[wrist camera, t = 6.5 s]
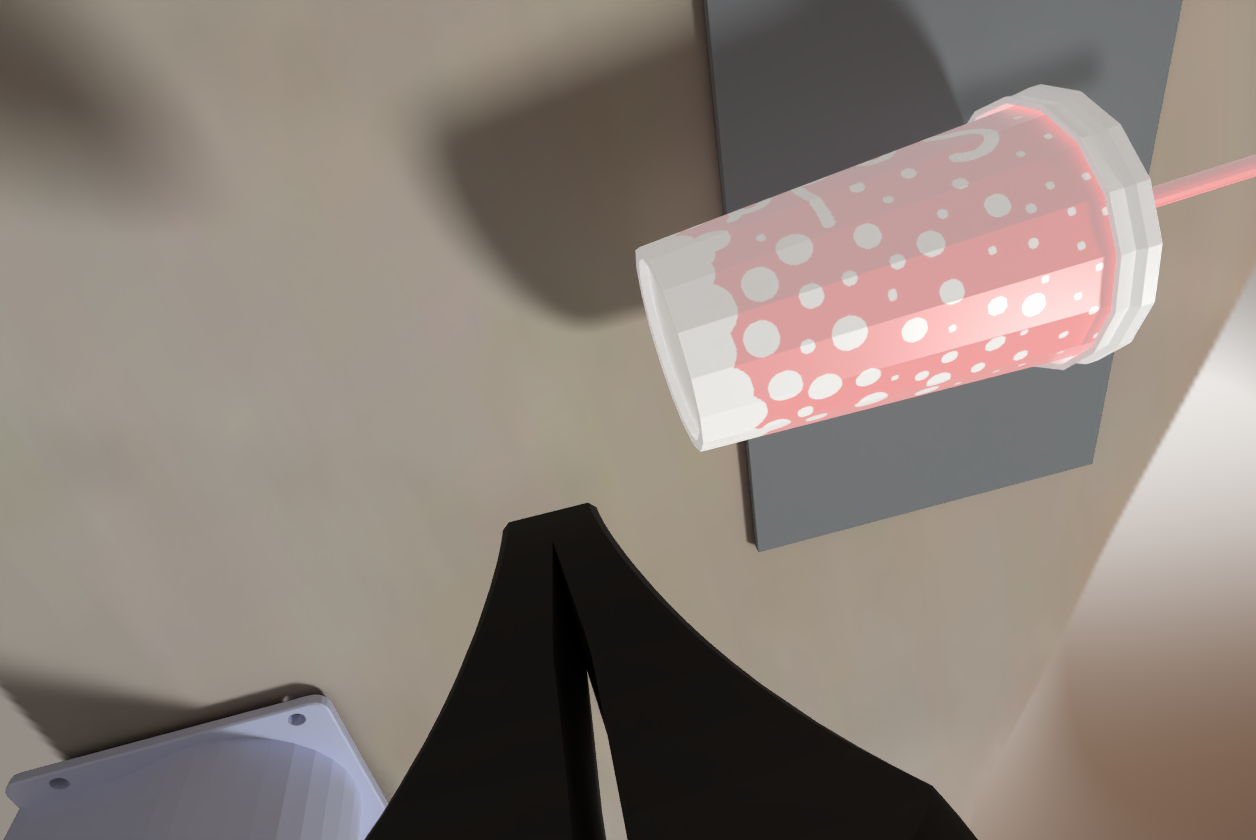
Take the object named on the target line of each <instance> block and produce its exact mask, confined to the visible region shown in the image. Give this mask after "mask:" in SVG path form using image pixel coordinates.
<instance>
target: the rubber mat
mask: <svg viewBox="0 0 1256 840" xmlns="http://www.w3.org/2000/svg"><path fill="white" fill-rule="evenodd" d="M703 2H704V13H705V23H706V34H707V44H708V55H709V65H710V75H711V86H712V96H713V107H714V117H715V128H716V138H717V149H718V159H719V170H720V180H721V191H722V201H723V212H724V215H726V214H729V213H731V212H734V211H737V210H739V209H742V208H745V207H747V206H750V205H752V204H755V203H758V202H760V201H763V200H766V199H768V198H771V197H774V196H776V195H779V194H782V193H784V192H787V191H790V190H792V189H795V188H798V187H800V186H803V185H806V184H808V183H811V182H813V181H816V180H819V179H821V178H824V177H827V176H829V175H832V174H835V173H837V172H840V171H843V170H845V169H848V168H851V167H853V166H856V165H859V164H861V163H864V162H866V161H869V160H872V159H874V158H877V157H880V156H882V155H885V154H888V153H890V152H893V151H896V150H898V149H901V148H904V147H906V146H909V145H912V144H914V143H917V142H920V141H922V140H925V139H927V138H930V137H933V136H935V135H938V134H941V133H943V132H946V131H949V130H951V129H954V128H957V127H959V126H962V125H965V124H967V123H968V121H969V120H970V118H971V117H972V115H973V114H974V112H975V111H977V110H979V109H981V108H983V107H985V106H987V105H989V104H991V103H993V102H995V101H997V100H999V99H1001V98H1003V97H1006V96H1013V95H1015V94H1017V93H1019V92H1021V91H1023V90H1025V89H1027V88H1030V87H1033V86H1036V85H1040V84H1043V85H1048V86H1054V87H1060V88H1066V89H1071V90H1077V91H1081V92H1082V93H1084V94H1085V95H1086V96H1087V97H1088V98H1090V99H1091V100H1092V101H1093V102H1094V103H1096V104H1097V105H1098V106H1099V107H1101V108H1102V109H1103V110H1104V111H1105V112H1107V113H1108V114H1109V115H1110V116H1111V117H1113V118H1114V119H1115V120H1116V121H1117V122H1119V123H1120V124H1121V126H1122V128H1123V130H1124V131H1125V133H1126V135H1127V137H1128V139H1129V141H1130V142H1131V144H1132V146H1133V148H1134V150H1135V152H1136V153H1137V155H1138V157H1139V159H1140V161H1141V163H1142V164H1143V166H1144V168H1145V170H1146V172H1147V174H1148V175H1149V170H1150V165H1151V159H1152V154H1153V149H1154V144H1155V139H1156V134H1157V129H1158V124H1159V118H1160V113H1161V108H1162V103H1163V98H1164V93H1165V88H1166V82H1167V77H1168V72H1169V67H1170V62H1171V57H1172V52H1173V46H1174V41H1175V36H1176V31H1177V26H1178V21H1179V16H1180V11H1181V5H1182V0H703ZM1113 355H1114V352H1112V353H1111V354H1109V355H1107V356H1105V357H1103V358H1102V359H1100V360H1098V361H1095V362H1092V363H1089V364H1077V363H1075V364H1074V365H1072V366H1070V367H1068V368H1067V369H1065V370H1059V369H1050V368H1041V367H1030V368H1026V369H1022V370H1018V371H1014V372H1010V373H1006V374H1002V375H998V376H994V377H991V378H987V379H983V380H979V381H975V382H971V383H967V384H963V385H959V386H955V387H952V388H948V389H944V390H940V391H936V392H932V393H928V394H924V395H920V396H916V397H912V398H909V399H905V400H901V401H897V402H893V403H889V404H885V405H881V406H877V407H873V408H870V409H866V410H862V411H858V412H854V413H850V414H846V415H842V416H838V417H834V418H830V419H827V420H823V421H819V422H815V423H811V424H807V425H803V426H799V427H795V428H791V429H788V430H784V431H780V432H776V433H772V434H768V435H764V436H760V437H756V438H752V439H748V440H745V442H746V452H747V463H748V473H749V484H750V494H751V505H752V515H753V526H754V536H755V546H756V548H757V550H758V552H761V551H765V550H769V549H773V548H776V547H780V546H784V545H788V544H791V543H795V542H799V541H803V540H807V539H810V538H814V537H818V536H822V535H825V534H829V533H833V532H837V531H840V530H844V529H848V528H852V527H856V526H859V525H863V524H867V523H871V522H874V521H878V520H882V519H886V518H889V517H893V516H897V515H901V514H905V513H908V512H912V511H916V510H920V509H923V508H927V507H931V506H935V505H938V504H942V503H946V502H950V501H953V500H957V499H961V498H965V497H969V496H972V495H976V494H980V493H984V492H987V491H991V490H995V489H999V488H1002V487H1006V486H1010V485H1014V484H1018V483H1021V482H1025V481H1029V480H1033V479H1036V478H1040V477H1044V476H1048V475H1051V474H1055V473H1059V472H1063V471H1067V470H1070V469H1074V468H1078V467H1082V466H1085V465H1089V464H1092V462H1093V457H1094V452H1095V447H1096V442H1097V437H1098V432H1099V427H1100V421H1101V416H1102V411H1103V406H1104V401H1105V396H1106V391H1107V385H1108V380H1109V375H1110V370H1111V365H1112V360H1113Z"/></svg>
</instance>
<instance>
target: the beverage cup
mask: <svg viewBox="0 0 1256 840" xmlns="http://www.w3.org/2000/svg"><path fill="white" fill-rule="evenodd" d="M1255 176H1256V154H1255V155H1252V156H1249V157H1245V158H1242V159H1239V160H1236V161H1233V162H1229V163H1226V164H1223V165H1220V166H1217V167H1214V168H1210V169H1207V170H1204V171H1201V172H1198V173H1195V174H1191V175H1188V176H1185V177H1182V178H1179V179H1175V180H1172V181H1169V182H1166V183H1163V184H1160V185H1156V186H1153V187H1152V184H1151V179H1150V177H1149V175H1148V174H1147V172H1146V170H1145V168H1144V166H1143V164H1142V163H1141V161H1140V159H1139V157H1138V155H1137V153H1136V152H1135V150H1134V148H1133V146H1132V144H1131V142H1130V141H1129V139H1128V137H1127V135H1126V133H1125V131H1124V130H1123V128H1122V126H1121V124H1120V123H1119V122H1117V121H1116V120H1115V119H1114V118H1113V117H1111V116H1110V115H1109V114H1108V113H1107V112H1105V111H1104V110H1103V109H1102V108H1101V107H1099V106H1098V105H1097V104H1096V103H1094V102H1093V101H1092V100H1091V99H1090V98H1088V97H1087V96H1086V95H1085V94H1084V93H1082V92H1081V91H1077V90H1071V89H1066V88H1060V87H1054V86H1048V85H1043V84H1040V85H1036V86H1033V87H1030V88H1027V89H1025V90H1023V91H1021V92H1019V93H1017V94H1015V95H1013V96H1006V97H1003V98H1001V99H999V100H997V101H995V102H993V103H991V104H989V105H987V106H985V107H983V108H981V109H979V110H977V111H975V112H974V114H973V115H972V117H971V118H970V120H969V121H968V123H967V124H965V125H962V126H959V127H957V128H954V129H951V130H949V131H946V132H943V133H941V134H938V135H935V136H933V137H930V138H927V139H925V140H922V141H920V142H917V143H914V144H912V145H909V146H906V147H904V148H901V149H898V150H896V151H893V152H890V153H888V154H885V155H882V156H880V157H877V158H874V159H872V160H869V161H866V162H864V163H861V164H859V165H856V166H853V167H851V168H848V169H845V170H843V171H840V172H837V173H835V174H832V175H829V176H827V177H824V178H821V179H819V180H816V181H813V182H811V183H808V184H806V185H803V186H800V187H798V188H795V189H792V190H790V191H787V192H784V193H782V194H779V195H776V196H774V197H771V198H768V199H766V200H763V201H760V202H758V203H755V204H752V205H750V206H747V207H745V208H742V209H739V210H737V211H734V212H731V213H729V214H726V215H723V216H721V217H718V218H715V219H713V220H710V221H707V222H705V223H702V224H699V225H697V226H694V227H692V228H689V229H686V230H684V231H681V232H678V233H676V234H673V235H670V236H668V237H665V238H662V239H660V240H657V241H654V242H652V243H649V244H646V245H644V246H641V247H639V248H638V249H637V250H636V268H637V273H638V279H639V284H640V289H641V295H642V299H643V303H644V307H645V311H646V315H647V318H648V322H649V326H650V330H651V333H652V337H653V340H654V343H655V347H656V350H657V353H658V357H659V360H660V363H661V366H662V369H663V372H664V375H665V378H666V381H667V384H668V386H669V389H670V392H671V395H672V398H673V400H674V403H675V405H676V408H677V410H678V413H679V415H680V418H681V420H682V423H683V425H684V427H685V429H686V431H687V433H688V435H689V437H690V439H691V441H692V443H693V445H694V446H695V447H696V448H697V449H698V450H699V451H700V452H702V451H706V450H709V449H713V448H717V447H721V446H725V445H729V444H733V443H737V442H741V441H745V440H748V439H752V438H756V437H760V436H764V435H768V434H772V433H776V432H780V431H784V430H788V429H791V428H795V427H799V426H803V425H807V424H811V423H815V422H819V421H823V420H827V419H830V418H834V417H838V416H842V415H846V414H850V413H854V412H858V411H862V410H866V409H870V408H873V407H877V406H881V405H885V404H889V403H893V402H897V401H901V400H905V399H909V398H912V397H916V396H920V395H924V394H928V393H932V392H936V391H940V390H944V389H948V388H952V387H955V386H959V385H963V384H967V383H971V382H975V381H979V380H983V379H987V378H991V377H994V376H998V375H1002V374H1006V373H1010V372H1014V371H1018V370H1022V369H1026V368H1030V367H1041V368H1050V369H1059V370H1065V369H1067V368H1068V367H1070V366H1072V365H1074V364H1075V363H1077V364H1089V363H1092V362H1095V361H1098V360H1100V359H1102V358H1103V357H1105V356H1107V355H1109V354H1111V353H1112V352H1114V351H1116V350H1118V349H1120V348H1122V347H1123V346H1125V345H1127V344H1129V343H1131V341H1132V339H1133V338H1134V336H1135V334H1136V333H1137V331H1138V329H1139V328H1140V326H1141V324H1142V323H1143V321H1144V319H1145V318H1146V316H1147V314H1148V312H1149V311H1150V309H1151V307H1152V306H1153V304H1154V302H1155V296H1156V289H1157V281H1158V274H1159V266H1160V259H1161V252H1162V244H1163V243H1162V238H1161V232H1160V227H1159V222H1158V216H1157V211H1156V208H1157V207H1160V206H1163V205H1166V204H1170V203H1173V202H1176V201H1179V200H1182V199H1185V198H1189V197H1192V196H1195V195H1198V194H1201V193H1204V192H1208V191H1211V190H1214V189H1217V188H1220V187H1223V186H1227V185H1230V184H1233V183H1236V182H1239V181H1242V180H1246V179H1249V178H1252V177H1255Z"/></svg>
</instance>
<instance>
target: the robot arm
mask: <svg viewBox="0 0 1256 840" xmlns="http://www.w3.org/2000/svg"><path fill="white" fill-rule="evenodd" d="M587 672H588V675H589V678H590V681H591V684H592V688H593V691H594V694H595V697H596V700H597V703H598V706H599V710H600V713H601V716H602V719H603V722H604V725H605V728H606V732H607V735H608V740H609V745H610V750H611V755H612V760H613V766H614V771H615V776H616V781H617V786H618V792H619V797H620V802H621V807H622V812H623V818H624V823H625V828H626V834H627V839H628V840H978V839H977V838H976V837H975V836H974V834H973V833H972V832H971V831H970V829H969V828H968V827H967V825H966V824H965V823H964V822H963V820H962V819H961V818H960V817H959V815H958V814H957V813H956V812H955V811H954V810H953V809H952V807H951V806H950V805H949V804H948V803H947V802H946V801H945V799H944V798H943V797H942V796H941V795H940V794H939V793H938V792H937V790H936V789H935V788H934V787H933V786H932V785H930V784H928V783H926V782H924V781H922V780H920V779H918V778H916V777H914V776H912V775H910V774H908V773H906V772H904V771H902V770H900V769H898V768H896V767H894V766H892V765H891V764H889V763H887V762H885V761H883V760H881V759H880V758H878V757H876V756H874V755H872V754H870V753H869V752H867V751H865V750H863V749H861V748H859V747H858V746H856V745H854V744H853V743H851V742H849V741H848V740H846V739H844V738H843V737H841V736H839V735H838V734H836V733H834V732H833V731H831V730H829V729H828V728H826V727H824V726H823V725H821V724H819V723H818V722H816V721H815V720H813V719H812V718H810V717H809V716H807V715H806V714H804V713H803V712H801V711H800V710H798V709H797V708H795V707H794V706H792V705H791V704H790V703H788V702H787V701H785V700H784V699H782V698H781V697H779V696H778V695H776V694H775V693H773V692H772V691H770V690H769V689H767V688H766V687H764V686H763V685H762V684H760V683H759V682H758V681H756V680H755V679H754V678H752V677H751V676H750V675H749V674H747V673H746V672H745V671H743V670H742V669H741V668H740V667H738V666H737V665H736V664H734V663H733V662H732V661H731V660H729V659H728V658H727V657H726V656H725V655H724V654H722V653H721V652H720V651H719V650H718V649H716V648H715V647H714V646H713V645H712V644H710V643H709V642H708V641H707V640H706V639H705V638H704V637H703V636H701V635H700V634H699V633H698V632H697V631H696V630H695V629H694V628H693V627H692V626H691V625H690V624H689V623H688V622H686V621H685V620H684V619H683V618H682V617H681V616H680V615H679V614H678V613H677V612H676V611H675V610H674V609H673V608H672V607H671V606H670V605H669V604H668V603H667V602H666V600H665V599H664V598H663V597H662V596H661V595H660V594H659V593H658V592H657V591H656V590H655V589H654V587H653V586H652V585H651V584H650V583H649V582H648V581H647V579H646V578H645V577H644V576H643V575H642V574H641V572H640V571H639V570H638V569H637V568H636V567H635V565H634V564H633V563H632V562H631V560H630V559H629V558H628V557H627V555H626V554H625V553H624V551H623V550H622V549H621V547H620V546H619V545H618V543H617V542H616V541H615V539H614V538H613V536H612V535H611V533H610V532H609V530H608V529H607V527H606V525H605V524H604V522H603V520H602V518H601V516H600V515H599V512H598V510H597V508H596V507H595V506H593V505H591V504H589V503H585V504H581V505H577V506H573V507H569V508H565V509H561V510H557V511H553V512H549V513H545V514H541V515H537V516H533V517H529V518H525V519H521V520H517V521H513V522H509V523H508V524H507V526H506V527H505V528H504V530H503V535H502V542H501V547H500V552H499V556H498V561H497V565H496V569H495V572H494V576H493V579H492V583H491V586H490V590H489V593H488V596H487V599H486V602H485V605H484V608H483V611H482V614H481V617H480V620H479V623H478V626H477V628H476V631H475V634H474V636H473V639H472V641H471V644H470V646H469V649H468V651H467V653H466V656H465V658H464V661H463V663H462V666H461V668H460V671H459V673H458V675H457V678H456V680H455V682H454V684H453V687H452V689H451V691H450V693H449V695H448V697H447V700H446V702H445V704H444V706H443V708H442V710H441V712H440V714H439V716H438V718H437V720H436V722H435V724H434V725H433V727H432V729H431V731H430V733H429V735H428V737H427V739H426V741H425V743H424V744H423V746H422V748H421V750H420V751H419V753H418V755H417V757H416V758H415V760H414V762H413V763H412V765H411V767H410V769H409V770H408V772H407V774H406V776H405V777H404V779H403V781H402V782H401V784H400V786H399V788H398V789H397V791H396V792H395V794H394V796H393V797H392V799H391V800H390V802H389V804H388V803H387V801H386V799H385V797H384V795H383V794H382V792H381V790H380V788H379V787H378V785H377V783H376V781H375V779H374V778H373V776H372V774H371V772H370V770H369V769H368V767H367V765H366V763H365V761H364V760H363V758H362V756H361V754H360V752H359V751H358V749H357V747H356V745H355V744H354V742H353V740H352V738H351V736H350V735H349V733H348V731H347V729H346V727H345V726H344V724H343V722H342V720H341V718H340V717H339V715H338V713H337V711H336V709H335V708H334V706H333V704H332V702H331V701H330V700H329V699H328V698H327V697H324V696H322V695H316V694H315V695H309V696H305V697H301V698H298V699H294V700H290V701H286V702H283V703H279V704H275V705H271V706H268V707H264V708H260V709H257V710H253V711H249V712H245V713H242V714H238V715H234V716H230V717H227V718H223V719H219V720H216V721H212V722H208V723H204V724H201V725H197V726H193V727H189V728H186V729H182V730H178V731H175V732H171V733H167V734H163V735H160V736H156V737H152V738H148V739H145V740H141V741H137V742H133V743H130V744H126V745H122V746H119V747H115V748H111V749H107V750H104V751H100V752H96V753H92V754H89V755H85V756H81V757H78V758H74V759H70V760H66V761H63V762H59V763H55V764H52V765H48V766H44V767H40V768H37V769H33V770H29V771H25V772H22V773H19V774H17V775H14V777H13V778H12V779H11V780H10V782H9V784H8V786H7V787H6V794H7V796H8V797H9V798H10V799H11V800H12V801H13V802H14V803H15V804H16V805H17V806H18V807H19V808H20V810H19V811H18V813H17V815H16V817H15V819H14V821H13V823H12V825H11V827H10V829H9V830H8V832H7V834H6V836H5V838H4V840H606V836H605V829H604V822H603V815H602V808H601V799H600V789H599V780H598V770H597V761H596V751H595V742H594V732H593V723H592V713H591V704H590V695H589V685H588V676H587ZM295 714H302V715H295Z"/></svg>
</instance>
